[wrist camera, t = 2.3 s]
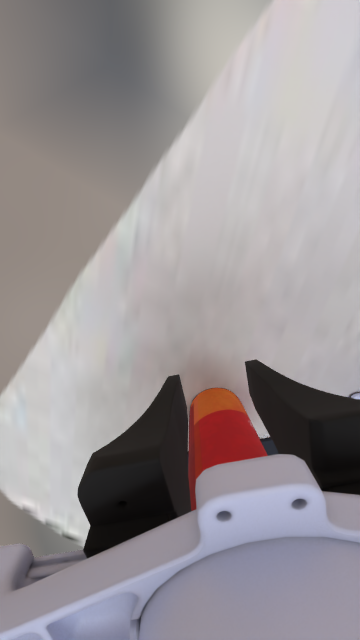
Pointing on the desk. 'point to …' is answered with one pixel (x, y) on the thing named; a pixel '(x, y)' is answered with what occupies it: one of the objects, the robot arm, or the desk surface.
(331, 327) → the desk surface
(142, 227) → the desk surface
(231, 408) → the paper cup
